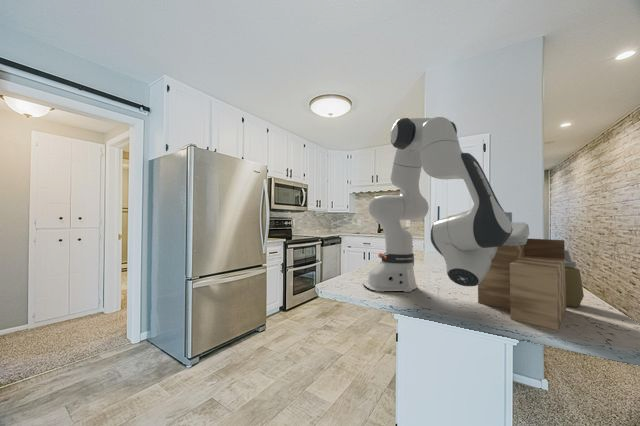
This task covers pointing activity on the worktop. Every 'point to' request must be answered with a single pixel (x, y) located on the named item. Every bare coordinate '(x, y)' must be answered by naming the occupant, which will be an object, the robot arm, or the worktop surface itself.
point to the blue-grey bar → (509, 215)
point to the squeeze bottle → (572, 283)
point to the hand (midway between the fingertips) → (491, 218)
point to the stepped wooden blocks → (528, 282)
